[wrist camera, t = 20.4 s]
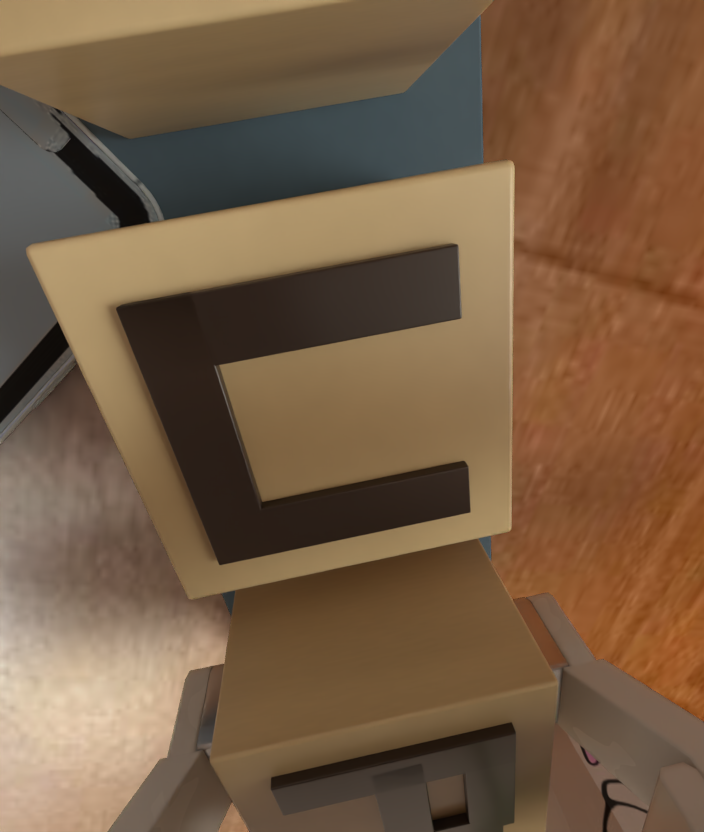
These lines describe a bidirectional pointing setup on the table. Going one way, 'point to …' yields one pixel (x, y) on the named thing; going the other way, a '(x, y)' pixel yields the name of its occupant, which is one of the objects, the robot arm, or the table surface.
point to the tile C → (218, 55)
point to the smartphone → (49, 235)
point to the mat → (318, 147)
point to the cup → (588, 793)
